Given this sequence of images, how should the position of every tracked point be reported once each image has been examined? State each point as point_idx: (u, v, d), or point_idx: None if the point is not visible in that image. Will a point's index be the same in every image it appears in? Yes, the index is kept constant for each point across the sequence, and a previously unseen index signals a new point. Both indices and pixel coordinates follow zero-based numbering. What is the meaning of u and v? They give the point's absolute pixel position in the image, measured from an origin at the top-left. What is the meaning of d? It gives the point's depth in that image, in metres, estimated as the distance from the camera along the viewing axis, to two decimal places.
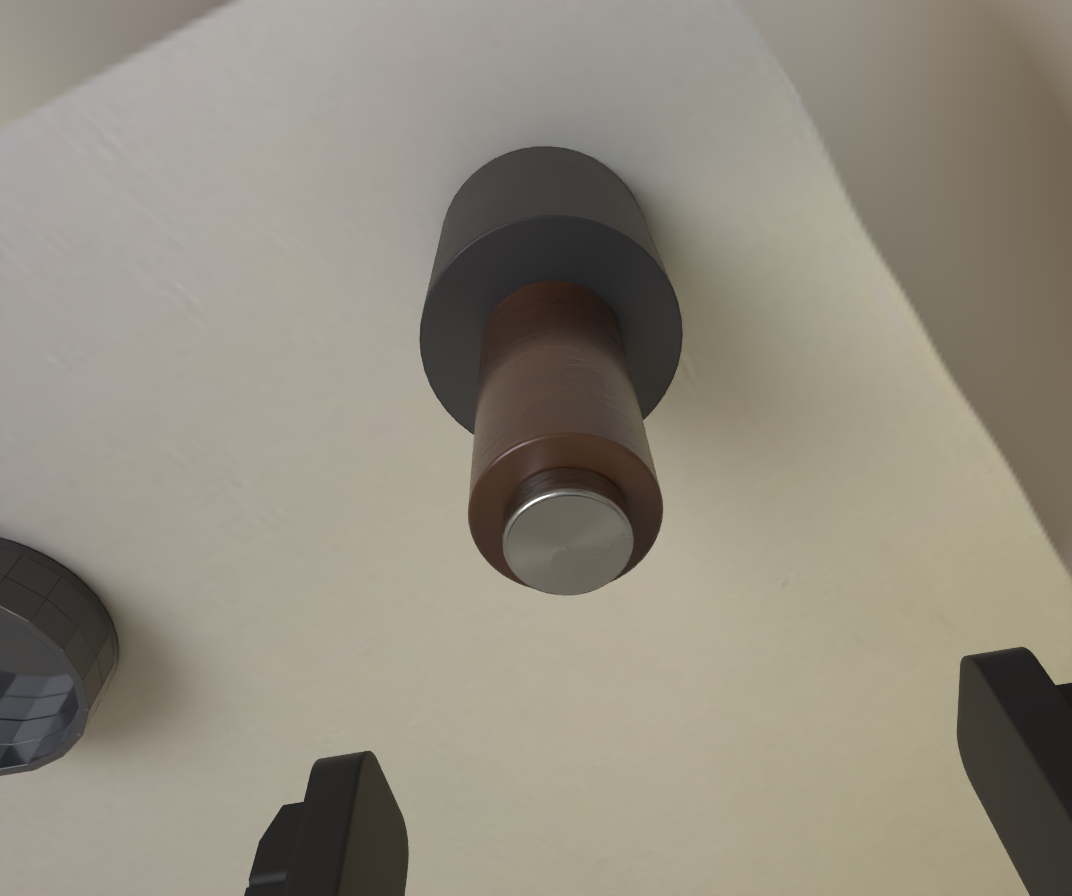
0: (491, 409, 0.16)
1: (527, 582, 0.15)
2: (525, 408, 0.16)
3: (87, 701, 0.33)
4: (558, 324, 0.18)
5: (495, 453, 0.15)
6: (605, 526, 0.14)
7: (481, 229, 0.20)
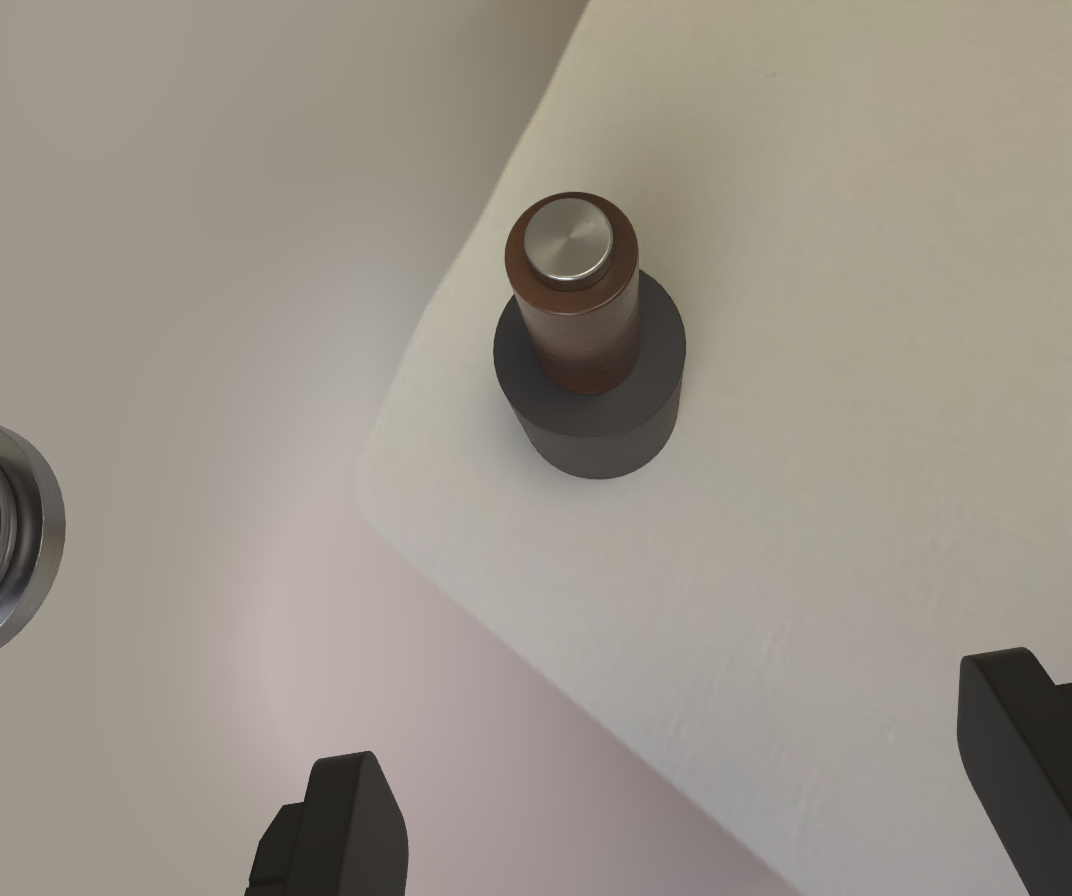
0: (563, 340, 0.24)
1: (608, 245, 0.21)
2: (533, 318, 0.23)
3: None
4: (532, 341, 0.27)
5: (549, 316, 0.22)
6: (542, 225, 0.22)
7: (538, 429, 0.29)
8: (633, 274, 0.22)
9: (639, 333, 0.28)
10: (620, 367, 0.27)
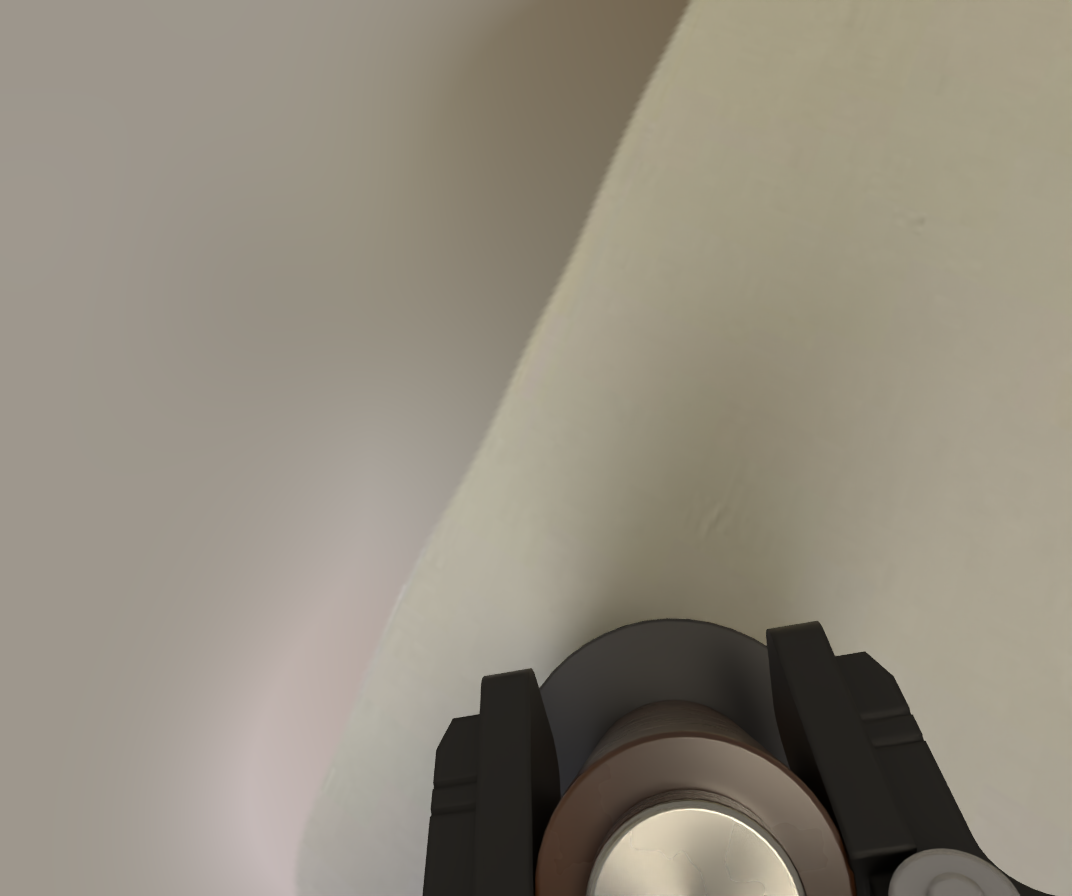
0: None
1: None
2: None
3: None
4: None
5: None
6: (629, 878, 0.09)
7: None
8: None
9: None
10: None
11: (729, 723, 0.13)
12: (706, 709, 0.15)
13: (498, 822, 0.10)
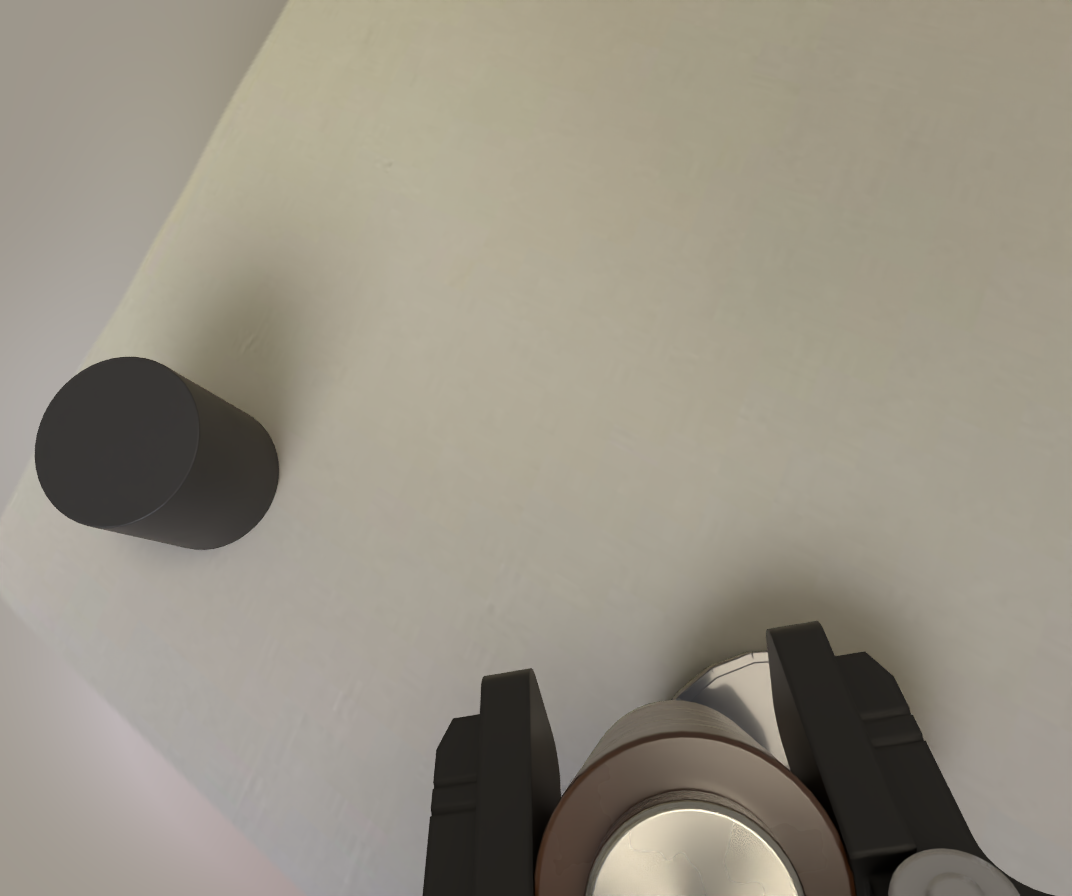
0: None
1: None
2: None
3: (740, 657, 0.32)
4: None
5: None
6: (628, 879, 0.09)
7: None
8: None
9: None
10: None
11: (729, 723, 0.13)
12: (706, 709, 0.15)
13: (498, 822, 0.10)
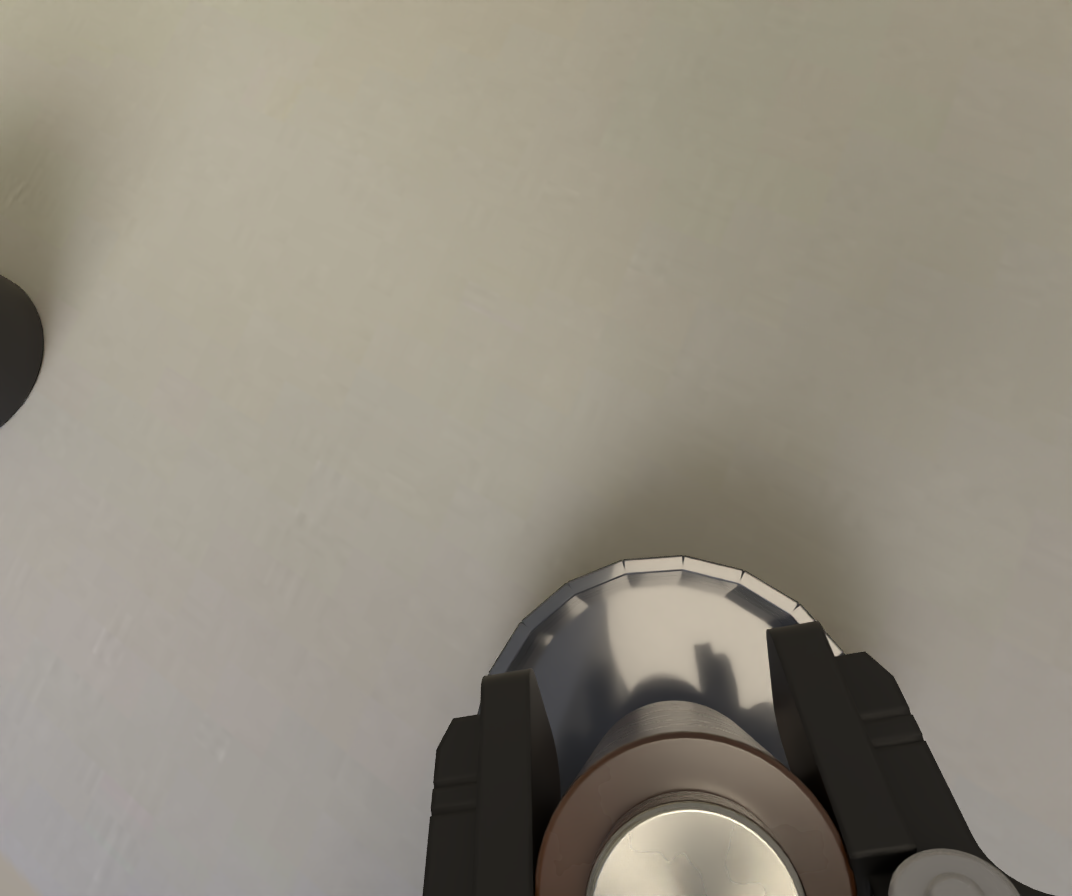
0: None
1: None
2: None
3: (607, 566, 0.23)
4: None
5: None
6: (629, 880, 0.09)
7: None
8: None
9: None
10: None
11: (729, 724, 0.13)
12: (706, 710, 0.15)
13: (498, 822, 0.10)
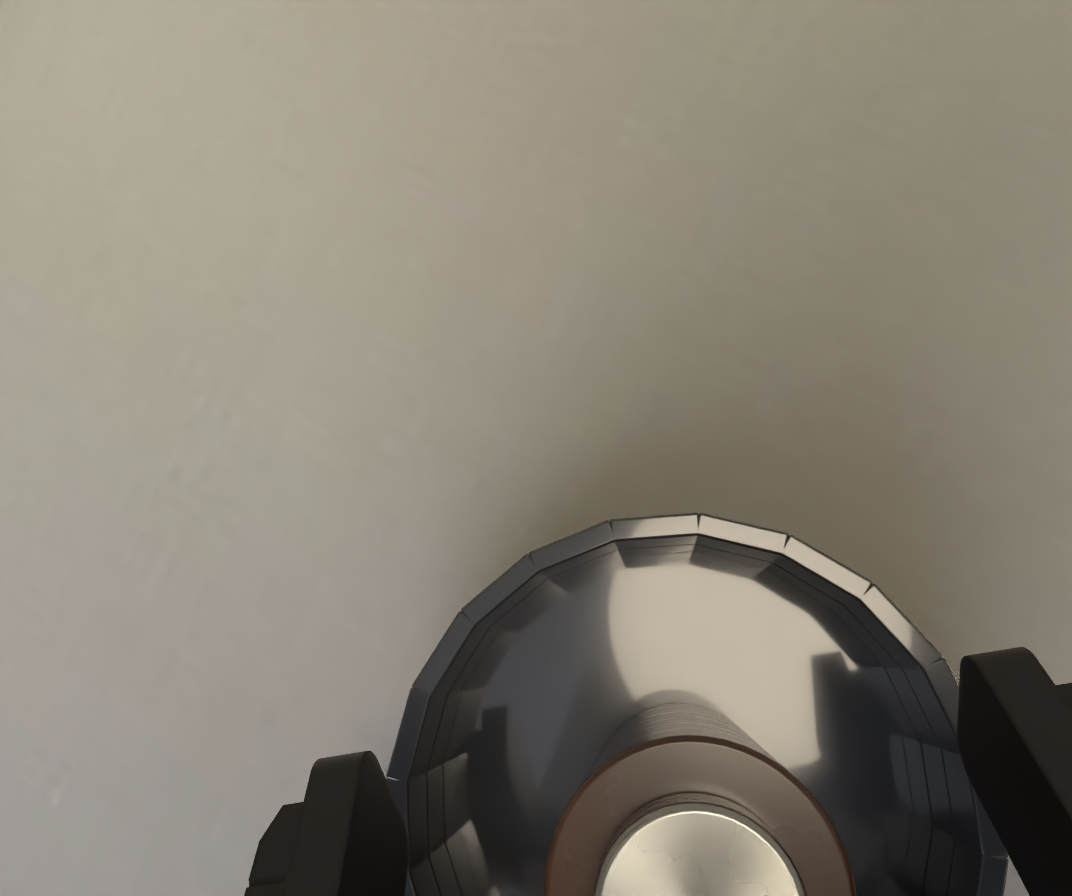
0: None
1: None
2: None
3: (587, 529, 0.16)
4: None
5: None
6: (636, 879, 0.09)
7: None
8: None
9: None
10: None
11: (732, 727, 0.13)
12: (709, 712, 0.15)
13: None
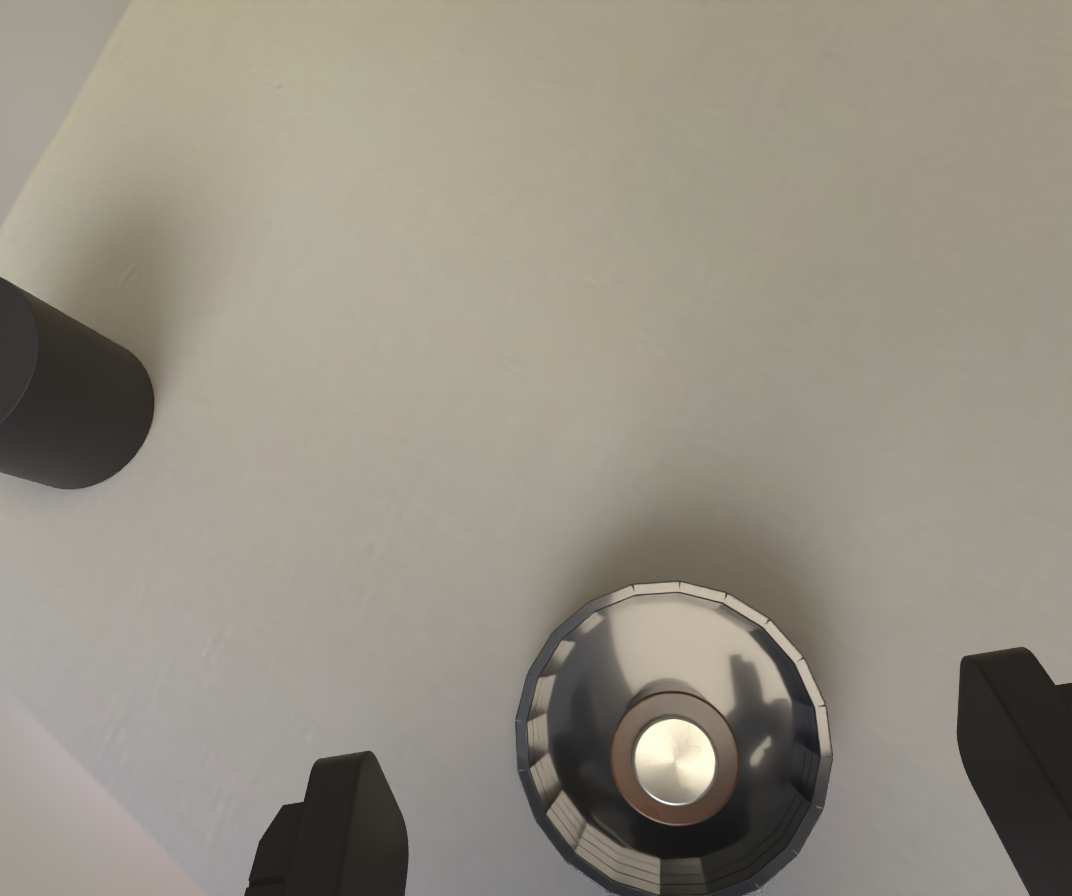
0: None
1: (714, 772, 0.22)
2: None
3: (620, 589, 0.29)
4: None
5: (655, 821, 0.23)
6: (649, 746, 0.23)
7: None
8: (736, 783, 0.23)
9: None
10: None
11: (694, 692, 0.27)
12: (685, 686, 0.29)
13: None
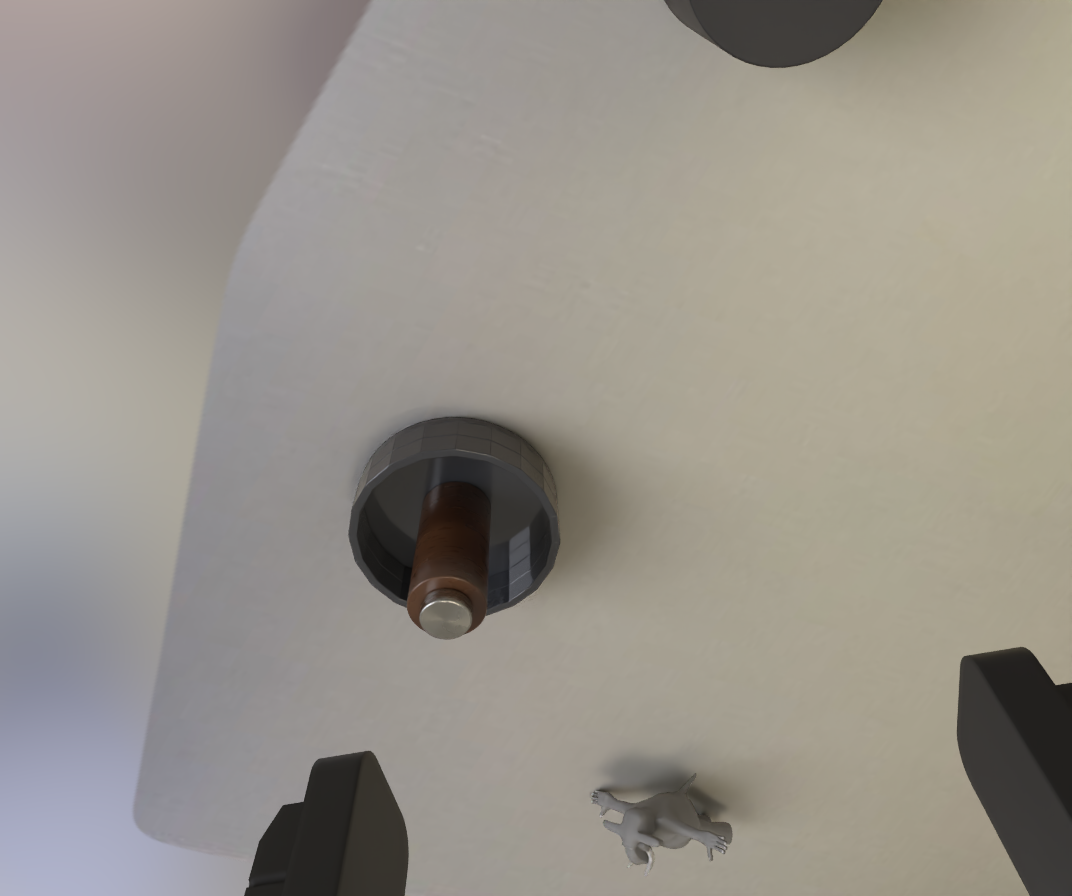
0: (411, 573, 0.39)
1: (441, 638, 0.37)
2: (415, 572, 0.38)
3: (553, 508, 0.41)
4: (434, 516, 0.41)
5: None
6: (452, 608, 0.36)
7: None
8: None
9: None
10: None
11: None
12: None
13: None
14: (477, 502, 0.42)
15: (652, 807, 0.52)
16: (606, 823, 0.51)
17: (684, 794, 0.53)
